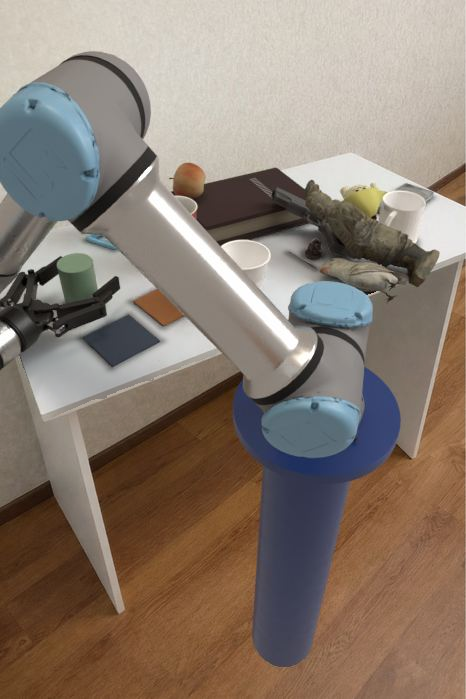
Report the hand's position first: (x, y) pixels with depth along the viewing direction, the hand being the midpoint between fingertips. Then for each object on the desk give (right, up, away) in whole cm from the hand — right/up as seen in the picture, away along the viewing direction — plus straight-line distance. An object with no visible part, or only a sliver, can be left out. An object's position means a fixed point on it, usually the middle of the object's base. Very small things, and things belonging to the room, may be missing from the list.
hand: (90, 272), depth 111 cm
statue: (+66, +1, +7) cm, 67 cm away
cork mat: (+15, -6, +3) cm, 16 cm away
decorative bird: (+57, -4, 0) cm, 57 cm away
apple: (+21, +21, +19) cm, 36 cm away
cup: (+29, -6, +3) cm, 30 cm away
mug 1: (+15, +4, +14) cm, 21 cm away
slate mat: (+7, -13, -5) cm, 16 cm away
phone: (+69, +21, +33) cm, 79 cm away
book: (+29, +17, +28) cm, 43 cm away
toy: (+56, +23, +32) cm, 69 cm away
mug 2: (+62, +9, +20) cm, 66 cm away
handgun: (+43, +9, +12) cm, 46 cm away
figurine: (+44, +5, +15) cm, 47 cm away
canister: (-2, -6, +2) cm, 7 cm away
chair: (0, +10, +21) cm, 23 cm away
